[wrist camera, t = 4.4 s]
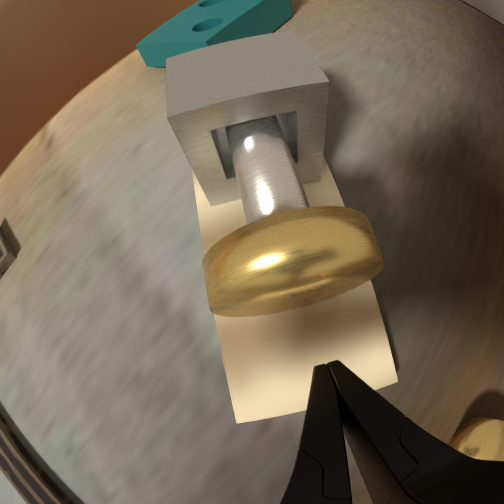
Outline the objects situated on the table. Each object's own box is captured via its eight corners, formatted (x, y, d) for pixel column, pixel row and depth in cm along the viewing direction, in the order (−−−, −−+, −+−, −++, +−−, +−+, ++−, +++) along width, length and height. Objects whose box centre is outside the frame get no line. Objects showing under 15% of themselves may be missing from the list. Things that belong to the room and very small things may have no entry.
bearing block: (320, 180, 21) (329, 81, 13) (211, 206, 21) (167, 117, 13) (296, 123, 23) (293, 30, 15) (201, 145, 24) (165, 58, 15)
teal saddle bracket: (229, 13, 36) (212, -41, 27) (292, 15, 32) (280, -47, 23) (151, 74, 32) (117, 10, 22) (220, 80, 28) (188, -5, 18)
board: (392, 381, 17) (397, 381, 16) (239, 420, 17) (236, 423, 16) (302, 117, 25) (302, 109, 24) (191, 143, 25) (188, 136, 24)
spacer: (482, 476, 12) (498, 483, 10) (433, 479, 13) (447, 489, 11) (502, 416, 14) (520, 419, 12) (455, 415, 15) (472, 419, 13)
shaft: (362, 290, 17) (410, 236, 10) (229, 324, 17) (183, 292, 10) (287, 96, 23) (281, 16, 16) (195, 118, 24) (166, 42, 16)
